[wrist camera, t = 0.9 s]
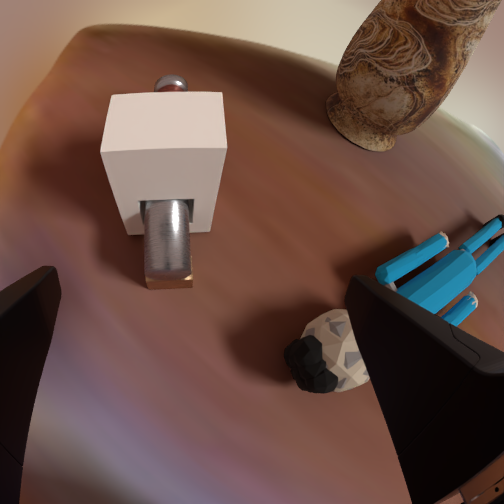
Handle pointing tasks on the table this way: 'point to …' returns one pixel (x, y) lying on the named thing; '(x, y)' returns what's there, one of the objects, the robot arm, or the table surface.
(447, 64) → the vase
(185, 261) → the metal cylinder
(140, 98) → the white block
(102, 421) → the table surface
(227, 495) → the table surface
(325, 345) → the toy
